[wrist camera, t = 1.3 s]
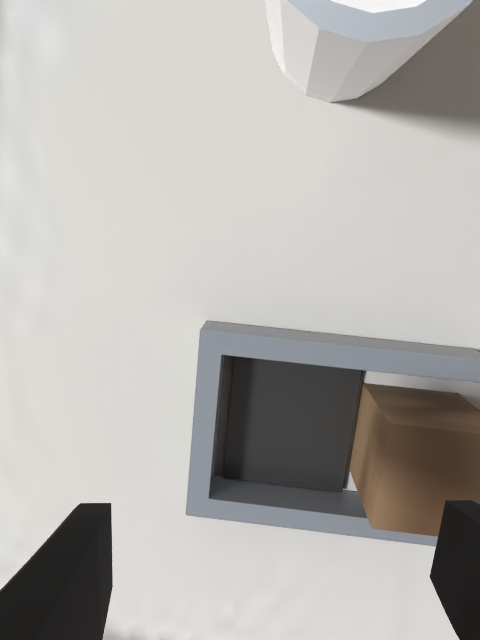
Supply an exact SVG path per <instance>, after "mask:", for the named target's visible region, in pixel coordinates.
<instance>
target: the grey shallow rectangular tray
mask: <svg viewBox="0 0 480 640" xmlns="http://www.w3.org/2000/svg"><path fill="white" fill-rule="evenodd" d="M225 355H229V356H235V357H234V368H233V378H232V389H231V399H230V409H229V420H228V430H227V440H226V451H225V461H224V472H223V476H220V475H214V466H215V455H216V444H217V433H218V422H219V411H220V400H221V389H222V378H223V367H224V356H225ZM362 370H367V371H376V372H385V373H394V374H403V375H413V376H422V377H431V378H440V379H449V380H458V381H468V382H477V383H480V352H479V351H477V350H475V349H470V348H460V347H451V346H441V345H432V344H422V343H413V342H403V341H394V340H384V339H375V338H366V337H356V336H347V335H337V334H328V333H318V332H309V331H299V330H290V329H280V328H271V327H262V326H252V325H243V324H233V323H224V322H214V321H206V322H205V324H204V325H203V327H202V328H201V329H200V338H199V351H198V364H197V377H196V390H195V403H194V415H193V428H192V441H191V454H190V467H189V480H188V492H187V505H186V515H189V516H197V517H205V518H213V519H221V520H229V521H237V522H245V523H253V524H261V525H269V526H277V527H285V528H293V529H301V530H308V531H316V532H324V533H332V534H340V535H348V536H356V537H364V538H372V539H380V540H388V541H396V542H404V543H412V544H420V545H428V546H436V545H437V540H438V537H436V536H428V535H420V534H412V533H404V532H396V531H388V530H380V529H371V526H370V524H369V521H368V518H367V515H366V513H365V510H364V507H363V504H362V502H361V499H360V496H359V494H358V492H353V491H344V490H342V489H343V483H344V477H345V471H346V465H347V458H348V452H349V446H350V440H351V434H352V427H353V421H354V415H355V409H356V403H357V396H358V390H359V384H360V378H361V372H362Z"/></svg>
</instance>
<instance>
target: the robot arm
mask: <svg viewBox="0 0 480 640" xmlns="http://www.w3.org/2000/svg"><path fill="white" fill-rule="evenodd" d="M430 578H431V581H432V583H433V585H434V588H435V590H436V592H437V594H438V597H439V599H440V601H441V603H442V606H443V608H444V610H445V612H446V614H447V616H448V618H449V620H450V622H451V624H452V626H453V629H454V630H455V632H456V634H457V636H458V637H459V639H460V640H480V504H478V503H476V502H474V501H472V500H445V505H444V510H443V515H442V520H441V525H440V530H439V535H438V540H437V545H436V549H435V554H434V559H433V564H432V569H431V574H430ZM112 586H113V585H112V529H111V503H80V504H79V505H78V506H77V507H76V508H75V509H74V510H73V511H72V512H71V513H70V514H69V515H68V517H67V518H66V519H65V520H64V521H63V522H62V523H61V525H60V526H59V527H58V528H57V529H56V530H55V532H54V533H53V534H52V535H51V536H50V537H49V538H48V539H47V541H46V542H45V543H44V544H43V545H42V546H41V547H40V548H39V549H38V551H37V552H36V553H35V554H34V555H33V556H32V557H31V558H30V559H29V560H28V562H27V563H26V564H25V565H24V566H23V567H22V568H21V569H20V570H19V571H18V572H17V573H16V574H15V575H14V576H13V577H12V578H11V580H10V581H9V582H8V583H7V584H6V585H5V586H4V587H3V588H2V589H1V590H0V640H102V638H103V633H104V628H105V623H106V618H107V613H108V607H109V602H110V597H111V591H112Z"/></svg>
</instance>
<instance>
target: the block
mask: <svg viewBox="0 0 480 640" xmlns="http://www.w3.org/2000/svg"><path fill="white" fill-rule="evenodd" d="M349 469H350V472H351V474H352V477H353V480H354V483H355V485H356V488H357V491H358V494H359V496H360V499H361V502H362V504H363V507H364V510H365V513H366V515H367V518H368V521H369V524H370V526H371V529H380V530H388V531H396V532H404V533H412V534H420V535H428V536H436V537H438V535H439V530H440V525H441V520H442V515H443V510H444V505H445V500H472V501H474V502H476V503H478V504H480V411H479V410H478V409H477V408H476V407H474V406H473V405H472V404H471V403H469V402H468V401H467V400H465V399H464V398H463V397H462V396H460V395H459V394H458V393H450V392H440V391H431V390H422V389H413V388H404V387H394V386H385V385H376V384H367V383H363V384H362V391H361V397H360V403H359V409H358V416H357V422H356V428H355V434H354V440H353V447H352V453H351V459H350V465H349Z"/></svg>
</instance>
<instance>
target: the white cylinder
mask: <svg viewBox="0 0 480 640" xmlns="http://www.w3.org/2000/svg"><path fill="white" fill-rule="evenodd" d="M472 1H473V0H265V5H266V11H267V18H268V24H269V30H270V36H271V42H272V48H273V54H274V56H275V58H276V60H277V62H278V64H279V66H280V68H281V70H282V72H283V74H284V76H285V78H286V79H287V80H289V81H290V82H291V83H292V84H293V85H294V86H295V87H297V88H298V89H299V90H300V91H301V92H302V93H304V94H305V95H307V96H310V97H314V98H317V99H320V100H324V101H327V102H337V101H344V100H351V99H357V98H359V97H360V96H362V95H364V94H365V93H367V92H369V91H370V90H372V89H374V88H376V87H377V86H379V85H381V84H382V83H383V82H384V81H385V80H386V79H387V78H388V77H390V76H391V75H392V74H393V73H394V72H395V71H396V70H397V69H398V68H400V67H401V66H402V65H403V64H404V63H405V62H406V61H407V60H408V59H410V58H411V57H412V56H413V55H414V54H415V53H416V52H417V51H419V50H420V49H421V48H422V47H423V46H424V45H425V44H426V43H427V42H429V41H430V40H431V39H432V38H433V37H434V36H435V35H436V34H437V33H439V32H440V31H441V30H442V29H443V28H444V27H445V26H446V25H448V24H449V23H450V22H451V21H452V20H453V19H454V18H455V17H456V16H458V15H459V14H460V13H461V12H462V11H463V10H464V9H465V8H466V7H468V6H469V5H470V3H471V2H472Z"/></svg>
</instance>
